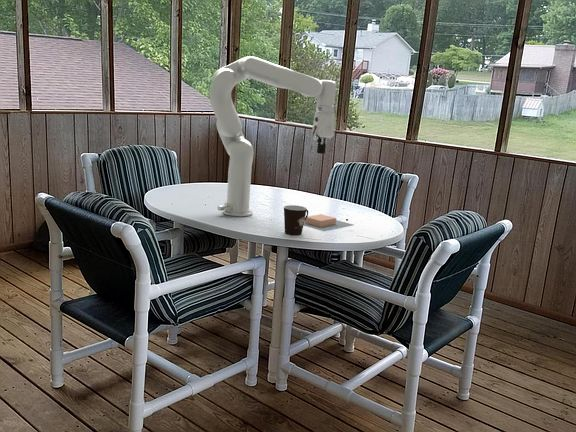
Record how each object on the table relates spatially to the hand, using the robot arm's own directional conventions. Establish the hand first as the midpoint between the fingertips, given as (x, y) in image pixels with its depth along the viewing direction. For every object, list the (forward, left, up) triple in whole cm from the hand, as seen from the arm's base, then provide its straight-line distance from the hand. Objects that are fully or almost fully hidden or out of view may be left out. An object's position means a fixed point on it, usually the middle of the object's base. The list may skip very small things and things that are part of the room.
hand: (320, 153), depth 240 cm
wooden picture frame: (-8, -14, -25) cm, 30 cm away
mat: (-12, -14, -27) cm, 33 cm away
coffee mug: (-32, -18, -27) cm, 46 cm away
